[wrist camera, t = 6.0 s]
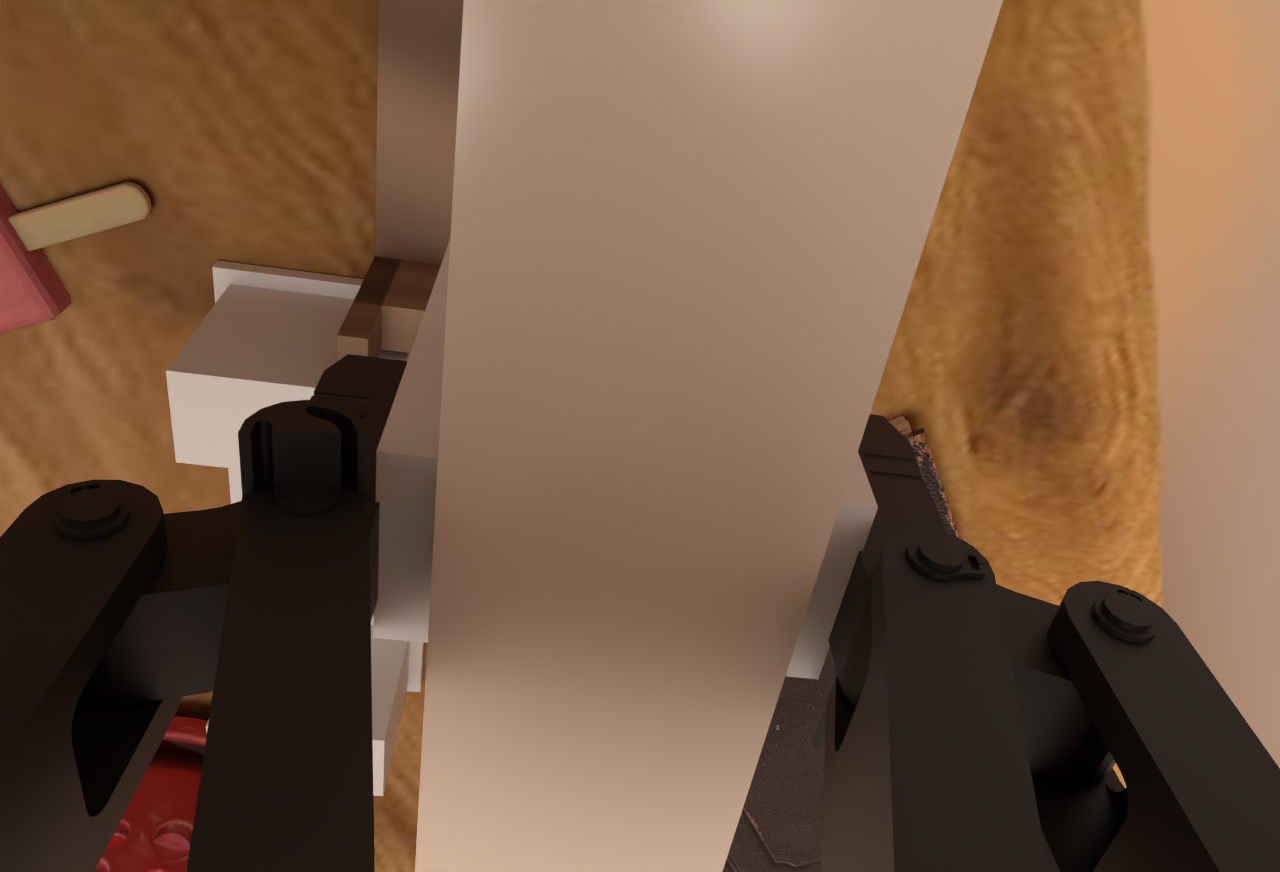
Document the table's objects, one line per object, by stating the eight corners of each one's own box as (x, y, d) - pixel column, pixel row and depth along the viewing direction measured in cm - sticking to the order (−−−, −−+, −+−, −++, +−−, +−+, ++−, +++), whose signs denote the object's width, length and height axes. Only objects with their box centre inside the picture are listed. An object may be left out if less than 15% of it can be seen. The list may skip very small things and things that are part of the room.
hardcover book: (908, 398, 36) (925, 433, 34) (1035, 783, 48) (1054, 826, 46) (503, 544, 39) (498, 584, 37) (716, 872, 51) (720, 915, 49)
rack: (391, -424, 23) (325, -482, 18) (940, -316, 24) (1032, -338, 19) (378, 375, 34) (335, 485, 29) (755, 420, 36) (780, 533, 30)
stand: (217, 260, 32) (144, 351, 27) (442, 289, 33) (412, 383, 28) (248, 667, 42) (199, 791, 37) (422, 683, 42) (396, 806, 37)
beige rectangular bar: (530, -347, 10) (486, -410, 6) (935, -268, 10) (1096, -290, 7) (443, 802, 19) (406, 1026, 15) (657, 819, 19) (667, 1041, 16)
